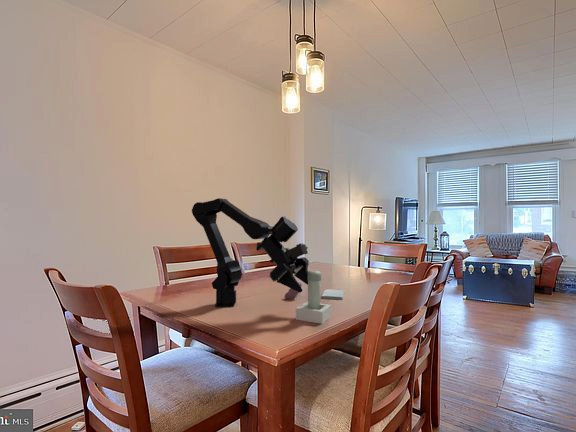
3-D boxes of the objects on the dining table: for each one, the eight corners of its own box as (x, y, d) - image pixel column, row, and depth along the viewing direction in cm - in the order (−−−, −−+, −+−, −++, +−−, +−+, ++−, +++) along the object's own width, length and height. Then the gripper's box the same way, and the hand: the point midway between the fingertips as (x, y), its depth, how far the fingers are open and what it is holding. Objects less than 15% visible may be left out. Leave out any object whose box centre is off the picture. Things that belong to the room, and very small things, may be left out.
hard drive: (342, 297, 123) (344, 289, 135) (321, 295, 125) (325, 288, 137) (342, 301, 123) (344, 293, 135) (321, 300, 125) (325, 292, 137)
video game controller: (293, 304, 123) (301, 288, 122) (283, 298, 123) (291, 282, 123) (297, 297, 132) (305, 282, 132) (287, 292, 133) (295, 277, 133)
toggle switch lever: (311, 316, 98) (312, 273, 98) (304, 312, 101) (305, 271, 102) (323, 314, 100) (323, 272, 100) (316, 310, 103) (316, 270, 103)
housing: (295, 319, 99) (295, 308, 99) (306, 312, 106) (306, 301, 106) (322, 323, 95) (322, 311, 95) (331, 315, 103) (331, 304, 103)
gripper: (279, 236, 96) (313, 277, 91) (303, 234, 112) (333, 268, 108) (256, 261, 99) (288, 301, 94) (283, 255, 116) (311, 289, 111)
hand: (307, 288), depth 102 cm, fingers open, 9 cm apart
